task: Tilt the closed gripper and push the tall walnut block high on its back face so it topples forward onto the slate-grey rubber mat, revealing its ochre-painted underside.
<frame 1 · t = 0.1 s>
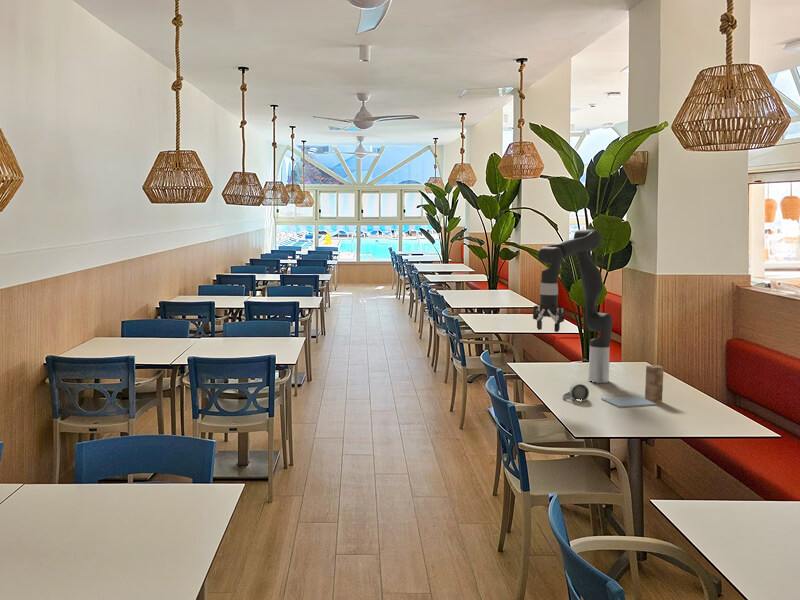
hand: (547, 330, 312), 29 cm above the table, tool pointing down, fingers open, 8 cm apart
slate mat: (628, 402, 307), on the table
walnut block: (653, 400, 310), on the table
ceramic mug: (575, 400, 311), on the table
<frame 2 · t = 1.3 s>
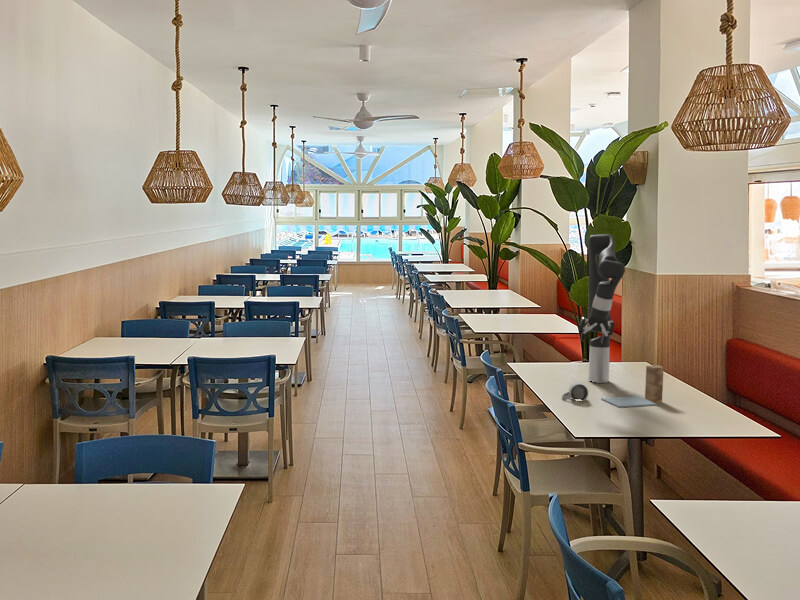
hand: (592, 341, 305), 26 cm above the table, tool tilted 15°, fingers open, 8 cm apart
nothing on the table moved.
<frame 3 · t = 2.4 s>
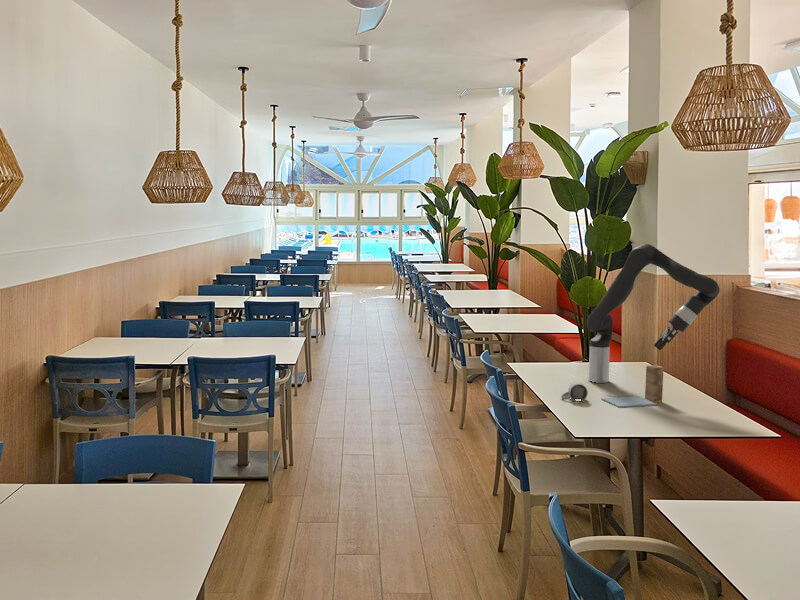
hand: (656, 348, 305), 23 cm above the table, tool tilted 40°, fingers open, 8 cm apart
nothing on the table moved.
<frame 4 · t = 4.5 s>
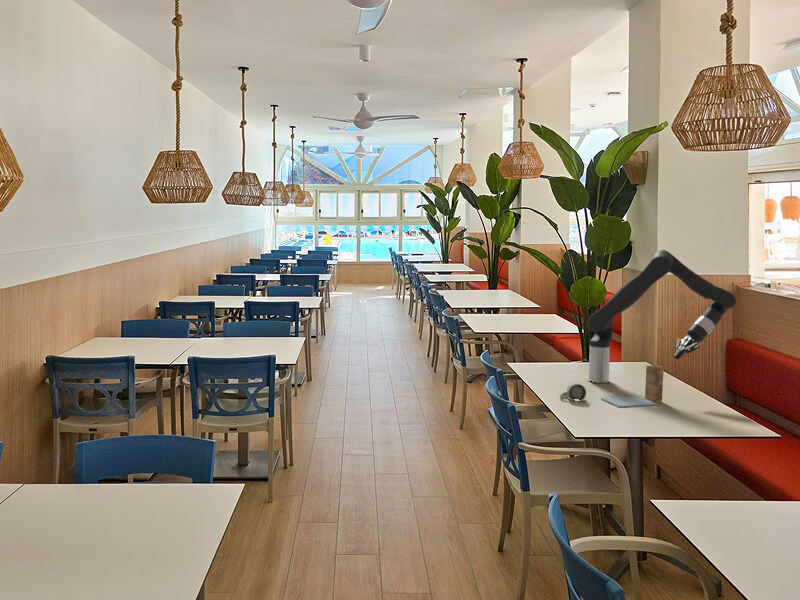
hand: (675, 358, 311), 18 cm above the table, tool tilted 45°, fingers closed
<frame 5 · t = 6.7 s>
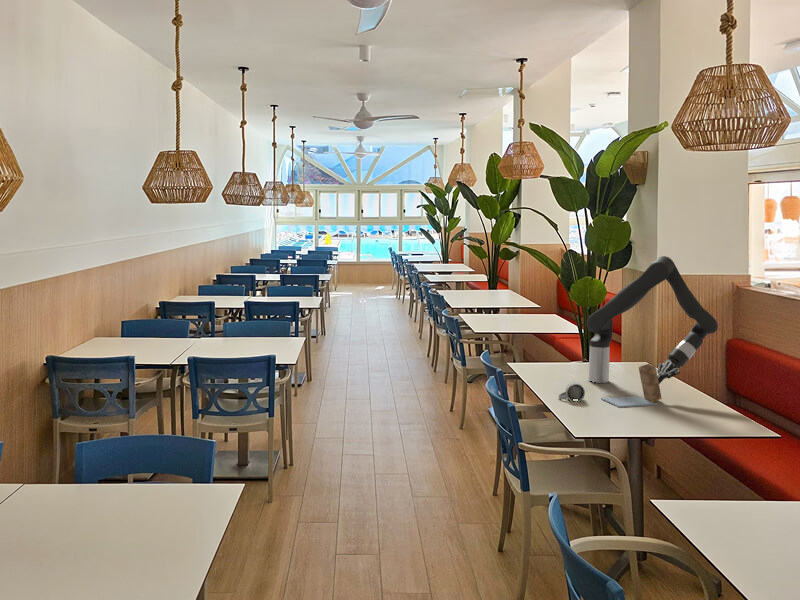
hand: (656, 382, 309), 8 cm above the table, tool tilted 45°, fingers closed
walnut block: (653, 399, 310), point 1 cm above the table, tilted 15°
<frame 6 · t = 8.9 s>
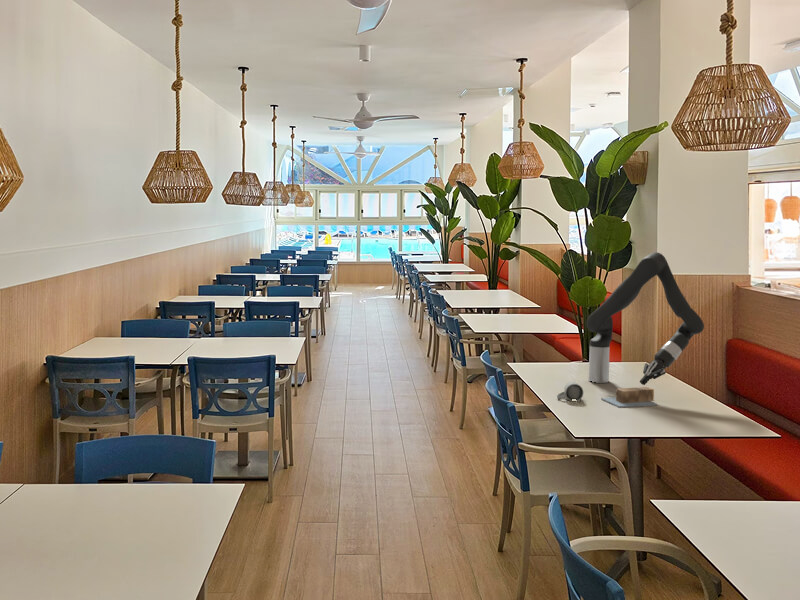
hand: (641, 383, 307), 8 cm above the table, tool tilted 45°, fingers closed
walnut block: (650, 393, 309), point 3 cm above the table, tilted 90°, touching slate mat
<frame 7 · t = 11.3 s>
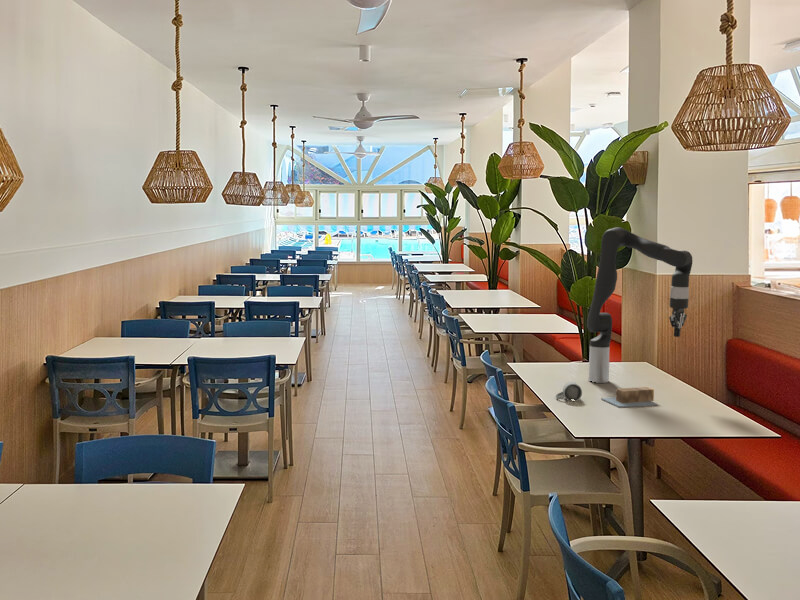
hand: (676, 336, 314), 27 cm above the table, tool pointing down, fingers closed
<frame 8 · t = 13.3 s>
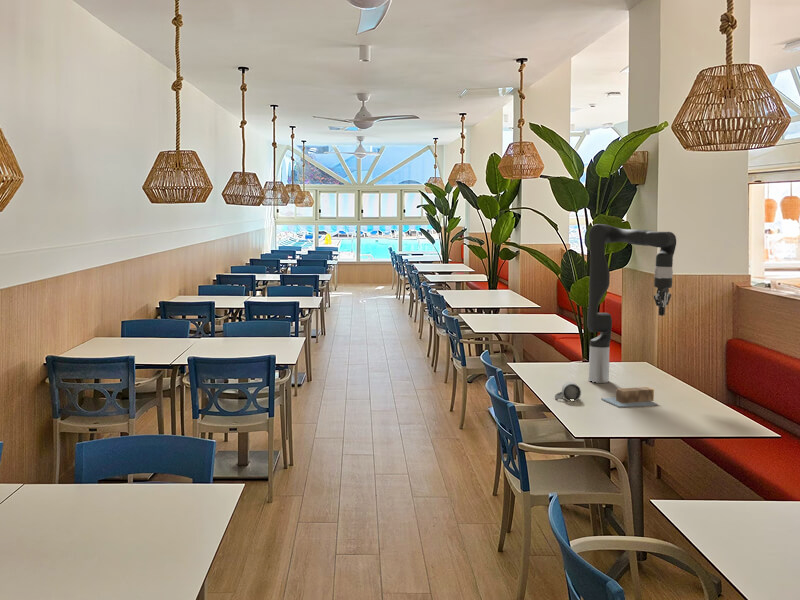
hand: (661, 315, 322), 35 cm above the table, tool pointing down, fingers closed
at the end: walnut block tilted 90°; walnut block touching slate mat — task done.
